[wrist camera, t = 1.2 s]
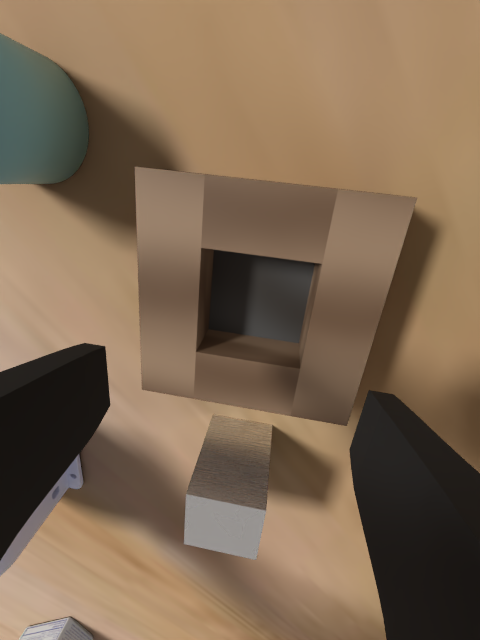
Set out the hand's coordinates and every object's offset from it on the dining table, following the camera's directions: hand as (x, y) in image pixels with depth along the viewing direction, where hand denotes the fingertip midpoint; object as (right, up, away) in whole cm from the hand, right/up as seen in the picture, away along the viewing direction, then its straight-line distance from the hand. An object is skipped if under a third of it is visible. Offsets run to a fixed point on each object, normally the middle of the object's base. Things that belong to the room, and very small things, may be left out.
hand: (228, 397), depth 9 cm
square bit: (0, -6, +13) cm, 15 cm away
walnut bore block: (+1, +4, +9) cm, 9 cm away
